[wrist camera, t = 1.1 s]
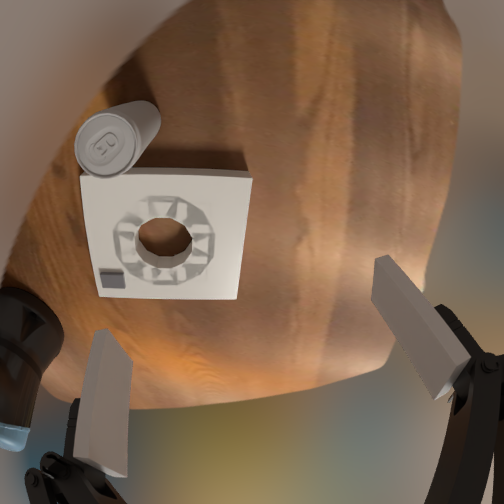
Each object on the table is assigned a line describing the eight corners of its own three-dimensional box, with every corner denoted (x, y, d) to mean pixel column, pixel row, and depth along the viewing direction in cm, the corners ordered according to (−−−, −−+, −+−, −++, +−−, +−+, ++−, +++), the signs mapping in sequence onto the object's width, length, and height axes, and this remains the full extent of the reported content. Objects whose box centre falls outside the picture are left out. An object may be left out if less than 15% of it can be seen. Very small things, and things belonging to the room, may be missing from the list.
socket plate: (103, 284, 36) (98, 299, 33) (87, 168, 27) (77, 177, 25) (234, 287, 40) (237, 302, 37) (248, 171, 31) (253, 180, 29)
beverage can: (108, 119, 25) (60, 143, 15) (144, 90, 24) (111, 95, 14) (134, 152, 28) (101, 194, 18) (171, 125, 27) (154, 151, 17)
